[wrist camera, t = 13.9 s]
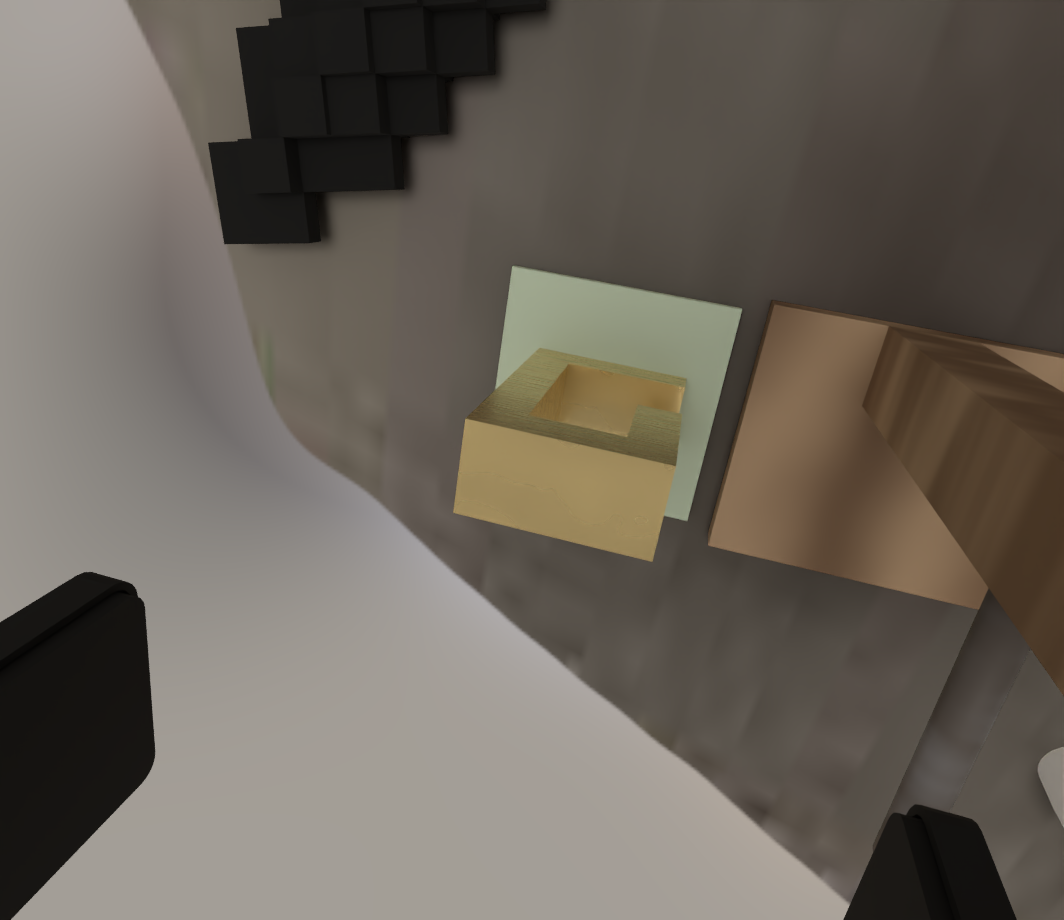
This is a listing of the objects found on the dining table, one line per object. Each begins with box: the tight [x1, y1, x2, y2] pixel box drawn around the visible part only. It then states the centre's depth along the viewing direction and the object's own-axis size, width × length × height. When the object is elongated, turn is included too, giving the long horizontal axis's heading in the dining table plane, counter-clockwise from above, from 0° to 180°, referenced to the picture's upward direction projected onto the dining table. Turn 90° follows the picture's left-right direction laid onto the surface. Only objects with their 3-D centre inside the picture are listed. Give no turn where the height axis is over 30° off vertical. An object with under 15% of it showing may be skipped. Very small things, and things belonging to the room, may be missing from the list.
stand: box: [708, 300, 1064, 852], centre depth 20 cm, size 11×12×20 cm
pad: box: [495, 265, 742, 521], centre depth 30 cm, size 9×9×1 cm
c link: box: [453, 348, 686, 562], centre depth 26 cm, size 6×3×10 cm, turn 81°
